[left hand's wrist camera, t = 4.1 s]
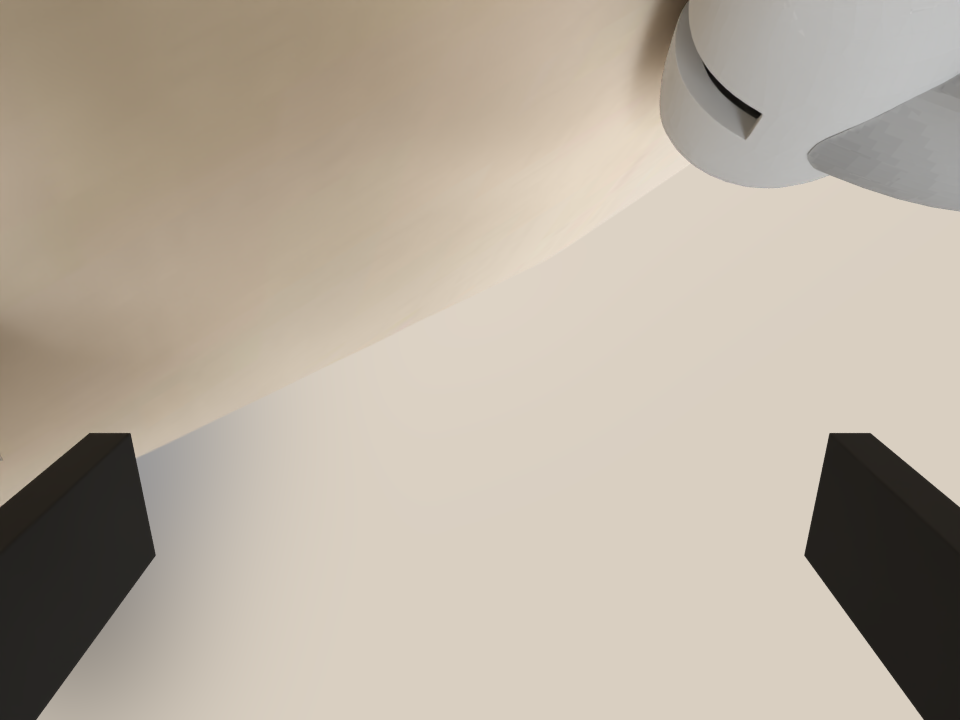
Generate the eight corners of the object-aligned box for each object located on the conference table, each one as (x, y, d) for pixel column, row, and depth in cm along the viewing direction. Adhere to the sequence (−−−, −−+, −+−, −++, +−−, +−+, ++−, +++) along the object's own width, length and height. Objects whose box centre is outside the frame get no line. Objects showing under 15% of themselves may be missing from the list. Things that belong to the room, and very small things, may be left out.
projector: (733, 89, 44) (876, 268, 41) (517, 80, 28) (727, 373, 25) (1143, -311, 28) (1413, -68, 26) (1191, -847, 12) (1919, -355, 10)
